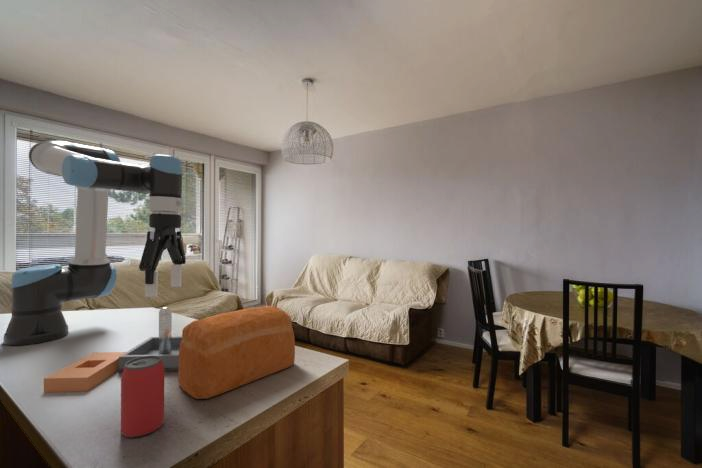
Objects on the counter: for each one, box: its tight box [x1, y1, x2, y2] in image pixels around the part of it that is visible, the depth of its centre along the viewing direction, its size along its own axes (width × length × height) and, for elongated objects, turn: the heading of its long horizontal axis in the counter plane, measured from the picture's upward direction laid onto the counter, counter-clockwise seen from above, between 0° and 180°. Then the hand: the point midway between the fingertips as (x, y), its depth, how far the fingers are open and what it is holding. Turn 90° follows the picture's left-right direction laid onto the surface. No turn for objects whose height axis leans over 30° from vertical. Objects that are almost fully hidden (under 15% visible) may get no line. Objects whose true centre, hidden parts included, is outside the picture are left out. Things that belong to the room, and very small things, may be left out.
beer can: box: [120, 356, 165, 438], centre depth 58 cm, size 7×7×12 cm
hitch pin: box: [158, 306, 173, 354], centre depth 88 cm, size 3×3×14 cm
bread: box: [177, 305, 296, 400], centre depth 80 cm, size 14×26×16 cm, turn 139°
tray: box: [118, 335, 182, 374], centre depth 88 cm, size 15×15×4 cm
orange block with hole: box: [43, 351, 127, 393], centre depth 78 cm, size 15×9×3 cm, turn 4°
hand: (164, 291), depth 88 cm, fingers open, 13 cm apart
